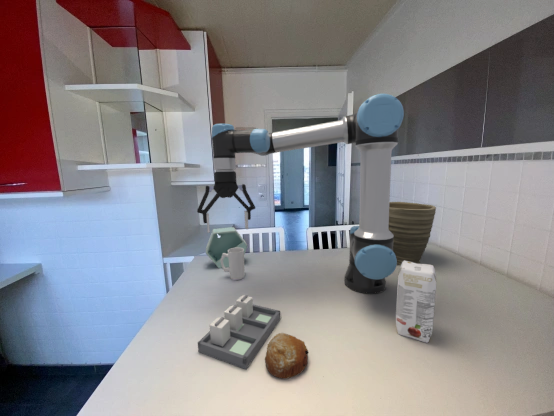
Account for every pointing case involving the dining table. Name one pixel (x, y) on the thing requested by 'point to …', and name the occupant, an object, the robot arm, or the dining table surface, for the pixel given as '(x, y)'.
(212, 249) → the planter
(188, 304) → the dining table surface
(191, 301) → the dining table surface
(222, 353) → the switch bank
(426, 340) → the juice carton
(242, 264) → the mug
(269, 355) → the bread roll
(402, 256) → the vase
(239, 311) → the tab mid
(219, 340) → the tab near
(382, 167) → the robot arm
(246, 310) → the tab far
